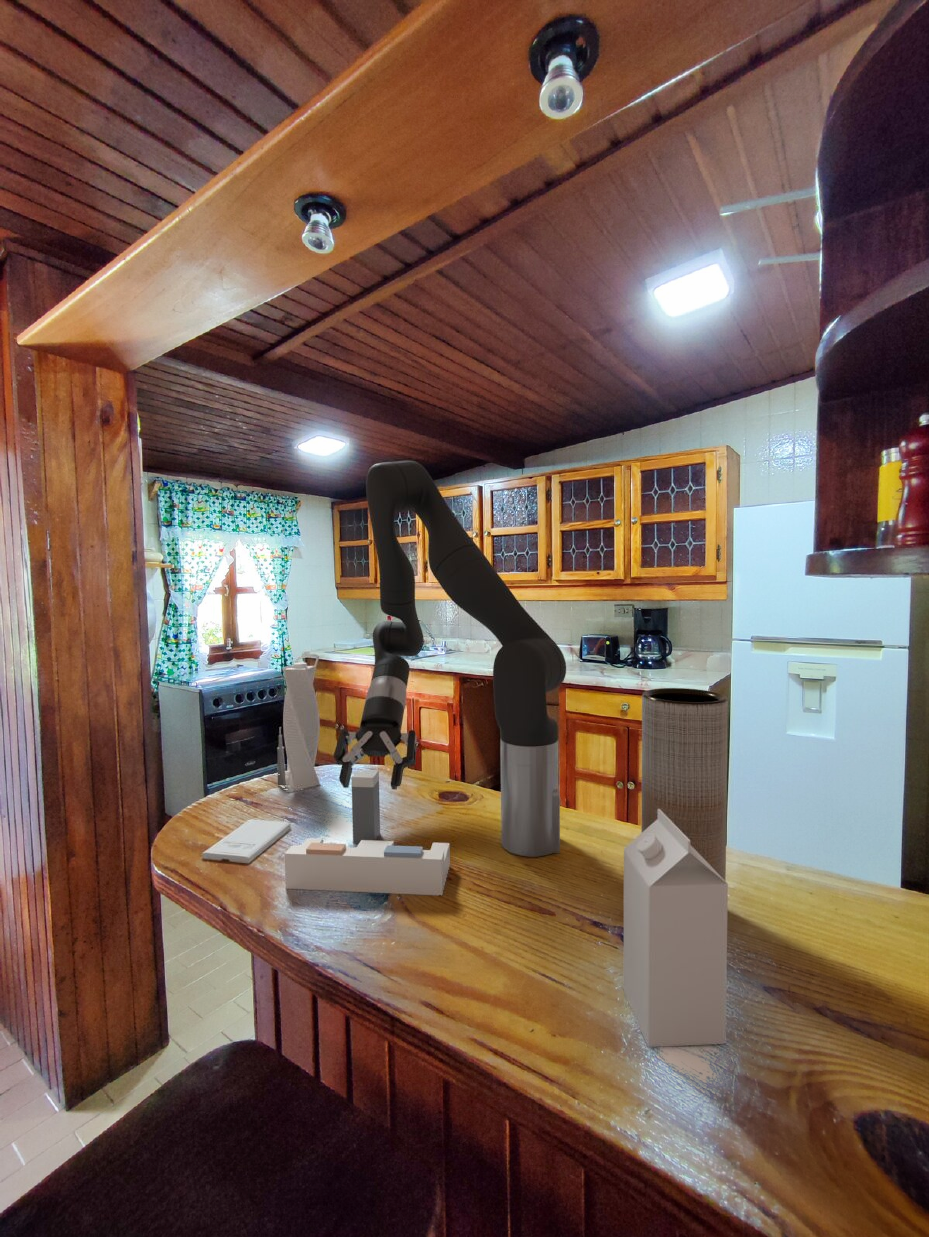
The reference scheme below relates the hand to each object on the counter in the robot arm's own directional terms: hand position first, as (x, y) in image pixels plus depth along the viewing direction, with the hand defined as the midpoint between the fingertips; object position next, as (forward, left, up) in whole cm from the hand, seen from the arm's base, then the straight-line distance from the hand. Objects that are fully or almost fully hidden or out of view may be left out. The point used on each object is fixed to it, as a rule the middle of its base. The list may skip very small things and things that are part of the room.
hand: (369, 786), depth 94 cm
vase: (-46, +19, -8) cm, 51 cm away
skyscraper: (+21, -22, -8) cm, 31 cm away
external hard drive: (+19, +5, -9) cm, 22 cm away
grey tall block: (0, +2, -8) cm, 8 cm away
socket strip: (-4, +14, -8) cm, 17 cm away
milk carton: (-40, +37, -8) cm, 55 cm away
